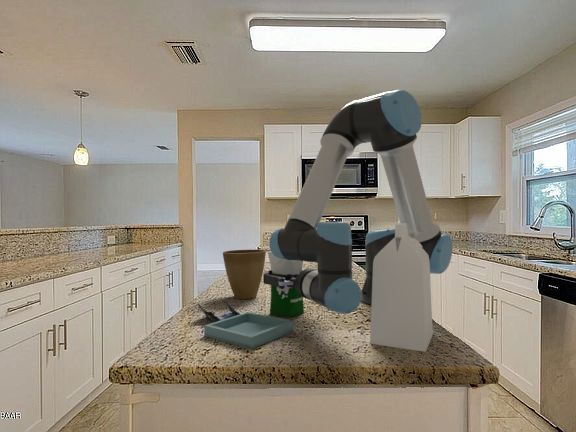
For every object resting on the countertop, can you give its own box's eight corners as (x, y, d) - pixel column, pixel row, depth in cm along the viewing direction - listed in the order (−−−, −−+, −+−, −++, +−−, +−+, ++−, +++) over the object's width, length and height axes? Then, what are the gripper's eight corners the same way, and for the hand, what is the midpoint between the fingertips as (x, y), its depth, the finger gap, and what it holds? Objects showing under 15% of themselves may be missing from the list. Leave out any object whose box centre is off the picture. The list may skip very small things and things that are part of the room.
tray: (293, 331, 92) (293, 320, 92) (251, 349, 80) (251, 337, 80) (248, 321, 101) (248, 311, 101) (204, 336, 89) (204, 325, 89)
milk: (383, 328, 93) (382, 223, 93) (432, 334, 88) (431, 223, 88) (370, 343, 83) (368, 224, 83) (425, 351, 77) (424, 224, 77)
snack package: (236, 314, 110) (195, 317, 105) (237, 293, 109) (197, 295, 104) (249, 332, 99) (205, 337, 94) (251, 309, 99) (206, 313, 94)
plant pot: (270, 292, 137) (269, 248, 137) (261, 302, 123) (260, 253, 123) (230, 292, 139) (230, 248, 139) (217, 301, 125) (216, 253, 125)
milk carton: (289, 319, 103) (288, 245, 102) (264, 313, 108) (263, 244, 108) (308, 312, 109) (307, 243, 109) (284, 307, 115) (283, 242, 115)
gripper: (273, 305, 88) (245, 288, 109) (353, 296, 96) (313, 282, 117) (273, 273, 88) (245, 262, 109) (352, 267, 96) (312, 258, 117)
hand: (280, 272), depth 113 cm, fingers closed on milk carton, 9 cm apart
